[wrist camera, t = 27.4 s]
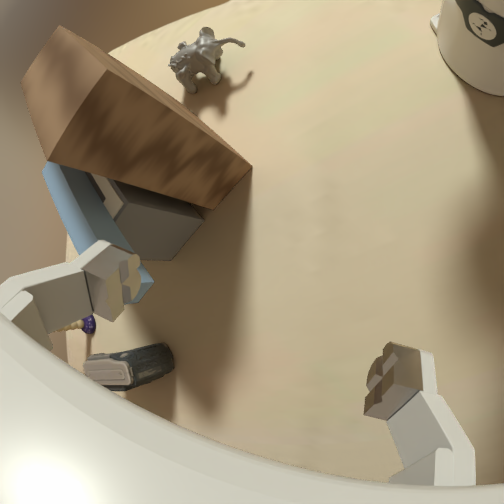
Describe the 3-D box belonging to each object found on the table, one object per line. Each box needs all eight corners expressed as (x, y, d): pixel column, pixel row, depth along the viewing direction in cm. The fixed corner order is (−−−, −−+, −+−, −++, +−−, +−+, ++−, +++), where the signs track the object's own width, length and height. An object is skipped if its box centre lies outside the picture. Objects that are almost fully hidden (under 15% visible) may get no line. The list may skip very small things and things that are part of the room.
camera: (170, 340, 45) (124, 354, 35) (179, 375, 44) (136, 396, 35) (121, 345, 49) (77, 356, 40) (129, 376, 48) (87, 392, 39)
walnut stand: (181, 103, 46) (59, 25, 22) (252, 166, 41) (107, 68, 17) (151, 140, 48) (20, 82, 24) (213, 209, 43) (47, 160, 19)
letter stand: (144, 149, 48) (75, 121, 34) (204, 220, 43) (127, 202, 29) (117, 186, 50) (47, 167, 36) (170, 260, 45) (90, 258, 31)
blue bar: (77, 159, 33) (52, 151, 29) (154, 281, 27) (123, 283, 24) (66, 177, 34) (41, 172, 30) (138, 302, 28) (107, 306, 24)
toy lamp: (81, 329, 53) (10, 340, 38) (81, 306, 53) (8, 313, 38) (96, 335, 51) (21, 349, 36) (95, 312, 51) (19, 321, 36)
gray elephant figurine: (182, 71, 47) (154, 51, 40) (238, 31, 42) (214, 6, 35) (197, 105, 45) (167, 86, 38) (260, 63, 41) (236, 36, 34)
